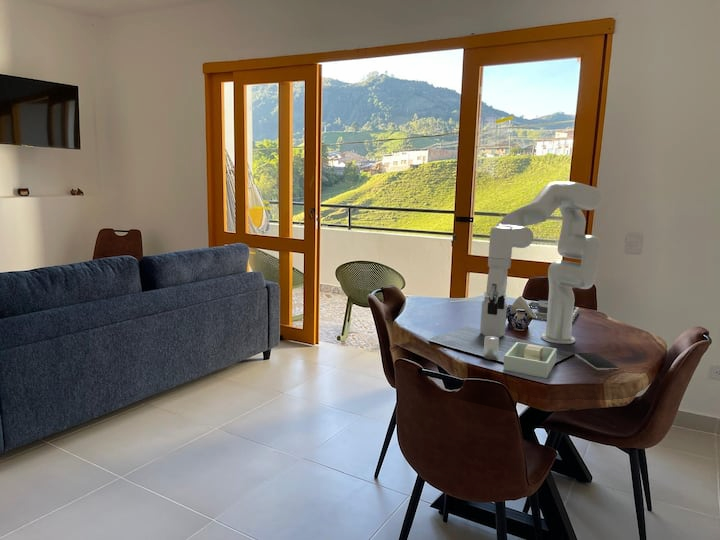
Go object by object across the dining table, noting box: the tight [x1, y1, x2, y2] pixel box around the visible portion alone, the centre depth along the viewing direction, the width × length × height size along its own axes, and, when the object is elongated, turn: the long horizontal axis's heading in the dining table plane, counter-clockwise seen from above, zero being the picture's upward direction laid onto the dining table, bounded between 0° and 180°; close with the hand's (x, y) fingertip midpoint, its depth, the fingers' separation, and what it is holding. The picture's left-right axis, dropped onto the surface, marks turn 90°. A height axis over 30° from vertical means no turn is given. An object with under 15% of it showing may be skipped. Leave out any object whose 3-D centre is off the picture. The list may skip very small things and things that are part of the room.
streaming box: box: [536, 300, 548, 314], centre depth 247 cm, size 14×14×5 cm
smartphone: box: [574, 352, 619, 371], centre depth 182 cm, size 8×1×15 cm
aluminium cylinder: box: [482, 336, 500, 360], centre depth 184 cm, size 5×5×7 cm
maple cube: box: [524, 344, 543, 361], centre depth 179 cm, size 5×5×5 cm
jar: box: [479, 289, 508, 339], centre depth 210 cm, size 10×10×18 cm
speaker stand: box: [527, 301, 580, 323], centre depth 246 cm, size 23×23×3 cm
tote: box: [503, 341, 558, 379], centre depth 176 cm, size 18×14×5 cm
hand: (495, 311), depth 181 cm, fingers open, 9 cm apart
